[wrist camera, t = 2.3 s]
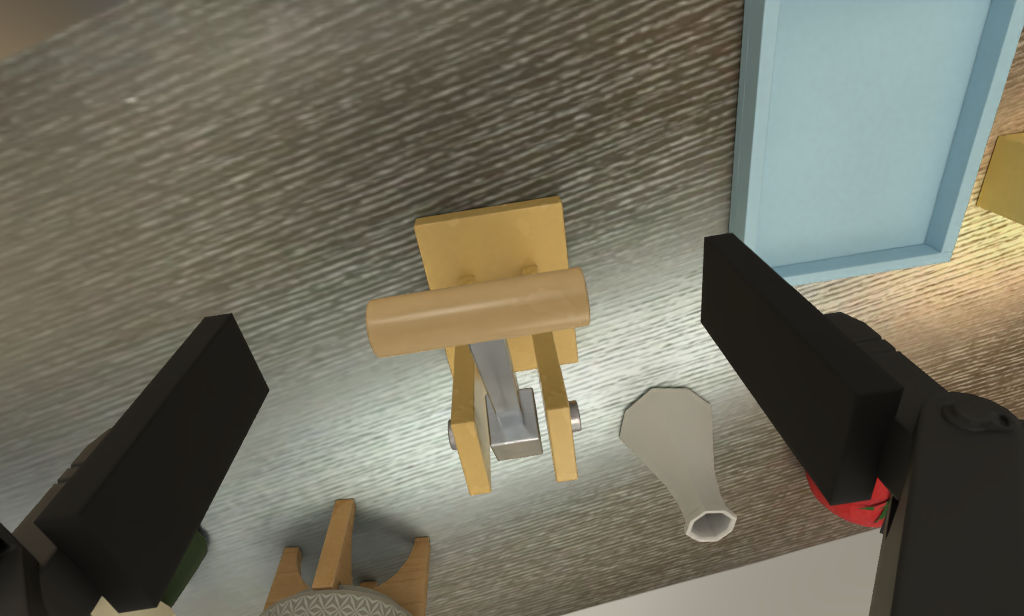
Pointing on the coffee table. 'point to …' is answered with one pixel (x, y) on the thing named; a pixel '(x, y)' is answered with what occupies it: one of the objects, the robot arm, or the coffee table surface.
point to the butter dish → (864, 129)
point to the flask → (680, 456)
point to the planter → (347, 579)
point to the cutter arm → (486, 338)
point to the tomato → (859, 506)
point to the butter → (1005, 179)
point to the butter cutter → (491, 256)
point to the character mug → (189, 564)
